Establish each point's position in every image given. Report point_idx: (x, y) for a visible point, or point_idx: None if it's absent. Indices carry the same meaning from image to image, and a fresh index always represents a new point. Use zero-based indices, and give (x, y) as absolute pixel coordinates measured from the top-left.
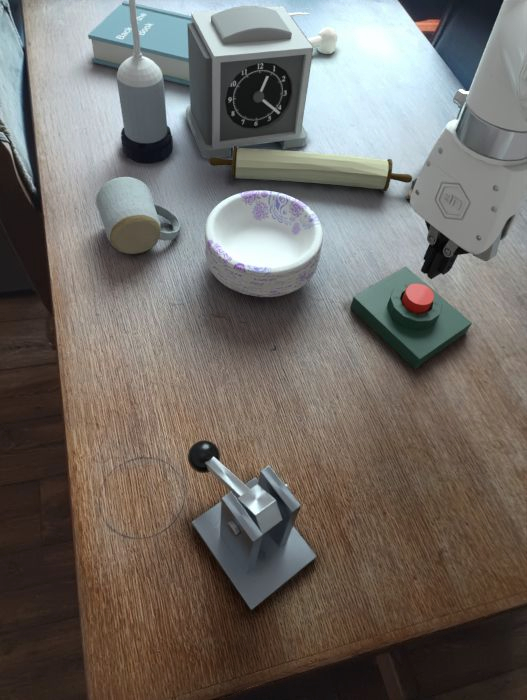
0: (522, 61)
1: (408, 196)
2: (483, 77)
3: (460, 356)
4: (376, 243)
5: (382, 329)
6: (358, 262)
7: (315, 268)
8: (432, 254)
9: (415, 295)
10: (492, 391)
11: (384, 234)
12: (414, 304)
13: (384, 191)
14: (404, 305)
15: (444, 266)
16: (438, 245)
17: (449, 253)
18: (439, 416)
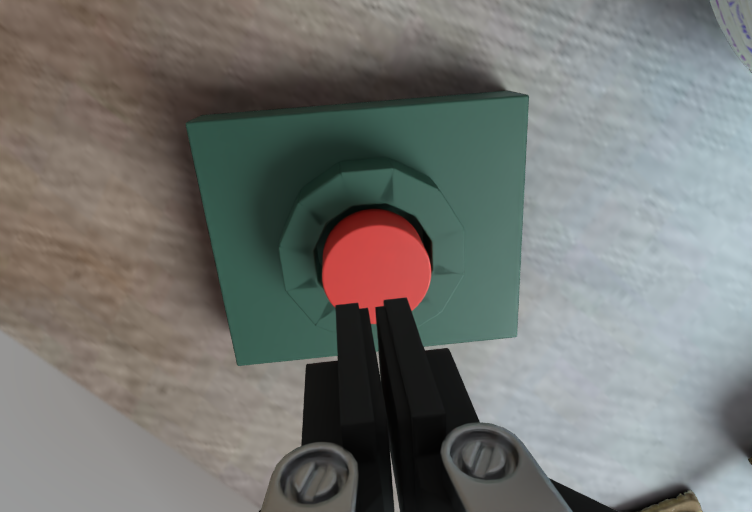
0: None
1: (691, 497)
2: None
3: (183, 273)
4: (637, 329)
5: (365, 105)
6: (623, 238)
7: (733, 3)
8: (404, 388)
9: (380, 257)
10: (39, 271)
11: (644, 368)
12: (350, 228)
13: (749, 458)
14: (382, 210)
15: (312, 397)
16: (421, 462)
17: (295, 480)
18: (6, 60)
